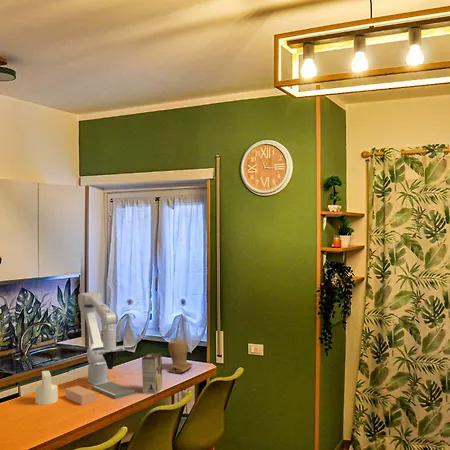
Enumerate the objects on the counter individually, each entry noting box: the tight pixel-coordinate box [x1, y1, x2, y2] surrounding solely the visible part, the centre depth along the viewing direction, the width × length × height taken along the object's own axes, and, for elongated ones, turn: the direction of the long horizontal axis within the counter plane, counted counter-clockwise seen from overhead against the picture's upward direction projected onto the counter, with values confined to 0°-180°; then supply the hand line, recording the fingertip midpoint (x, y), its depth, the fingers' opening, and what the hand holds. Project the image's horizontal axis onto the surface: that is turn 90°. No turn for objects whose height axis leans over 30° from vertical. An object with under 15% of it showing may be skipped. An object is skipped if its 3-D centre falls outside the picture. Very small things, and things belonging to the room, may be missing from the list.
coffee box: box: [141, 352, 163, 395], centre depth 246 cm, size 9×6×16 cm
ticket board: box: [91, 381, 136, 400], centre depth 246 cm, size 20×10×2 cm, turn 43°
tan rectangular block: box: [65, 385, 96, 406], centre depth 235 cm, size 14×6×4 cm, turn 43°
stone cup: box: [167, 339, 194, 374], centre depth 280 cm, size 15×12×15 cm
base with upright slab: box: [35, 370, 59, 406], centre depth 234 cm, size 9×9×12 cm
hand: (110, 368), depth 249 cm, fingers closed
